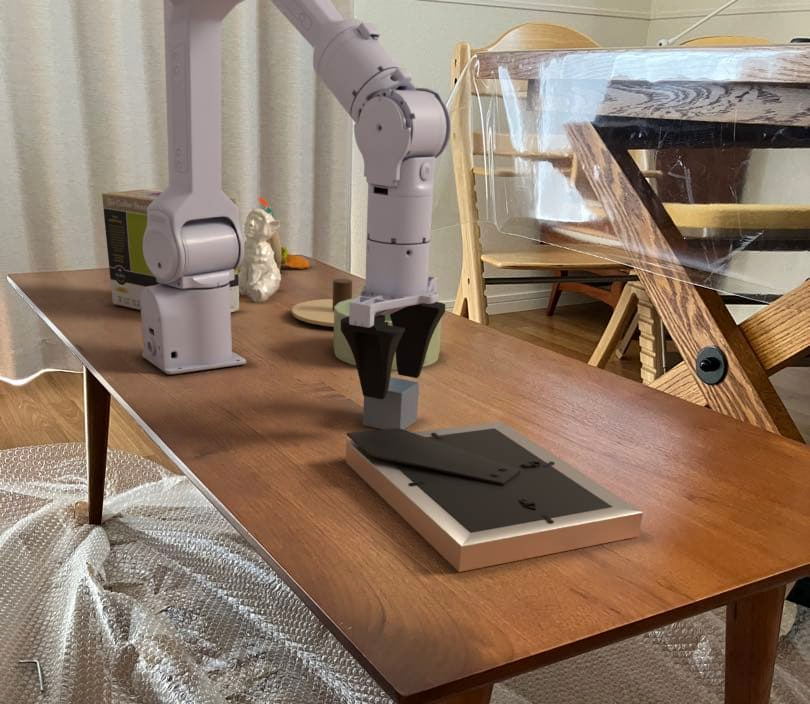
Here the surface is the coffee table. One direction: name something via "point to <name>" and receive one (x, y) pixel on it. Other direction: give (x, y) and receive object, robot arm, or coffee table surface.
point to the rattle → (281, 252)
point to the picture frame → (488, 493)
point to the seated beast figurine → (259, 257)
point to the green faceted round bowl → (342, 311)
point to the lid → (324, 305)
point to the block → (393, 406)
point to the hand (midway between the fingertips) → (392, 385)
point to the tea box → (135, 247)
